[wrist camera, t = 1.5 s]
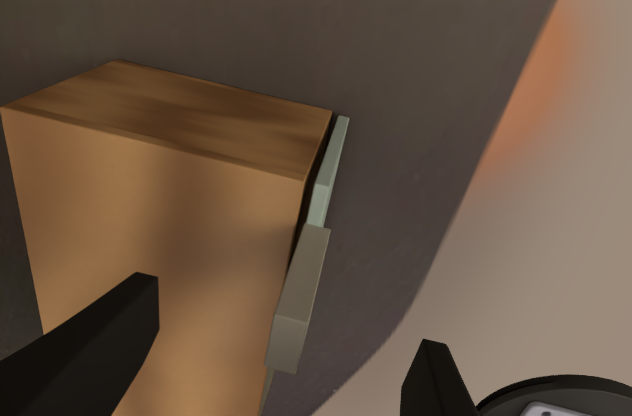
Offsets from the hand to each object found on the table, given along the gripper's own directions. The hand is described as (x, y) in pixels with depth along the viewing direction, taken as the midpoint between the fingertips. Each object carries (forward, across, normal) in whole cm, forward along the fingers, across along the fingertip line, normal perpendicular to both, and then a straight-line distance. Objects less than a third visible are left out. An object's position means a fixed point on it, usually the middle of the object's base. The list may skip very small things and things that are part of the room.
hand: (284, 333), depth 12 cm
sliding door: (+10, 0, +1) cm, 10 cm away
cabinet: (+11, +6, +5) cm, 13 cm away
